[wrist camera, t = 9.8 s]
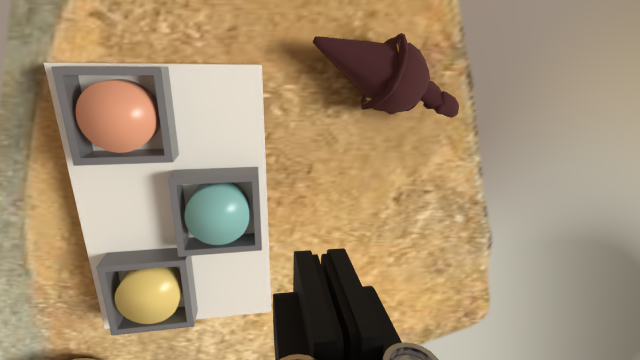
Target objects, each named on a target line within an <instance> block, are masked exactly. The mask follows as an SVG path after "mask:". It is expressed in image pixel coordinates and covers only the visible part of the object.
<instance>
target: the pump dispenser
mask: <svg viewBox="0 0 640 360" xmlns="http://www.w3.org/2000/svg"><path fill="white" fill-rule="evenodd" d="M72 360H96V359H91V358H79V359H72Z"/></svg>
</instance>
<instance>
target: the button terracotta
mask: <svg viewBox="0 0 640 360" xmlns="http://www.w3.org/2000/svg"><path fill="white" fill-rule="evenodd" d="M76 119H77V123H78V125H79V127H80V129H81V131H82V133H83V134H84V135H85V136H86V137H87V139H88V140H90V141H91V142H92V143H93V144H95V145H96V146H98V147H100V148H102V149H104V150H107V151H111V152H117V153H124V152H130V151H133V150H136V149H138V148H140V147H141V146H143V145H144V144H145V143H146V142H148V141H149V140H150V139H151V138H153V137H154V136H155V134H156V133H157V131H158V130H159V127H160V118H159V110H158V103H157V100H156V98H155V97H154V96H153V94H152V93H151V92H150V91H149V90H148V89H147V88H145V87H144V86H142V85H141V84H139V83H137V82H134V81H131V80H126V79H114V80H108V81H102V82H98V83H95V84H93V85H91V86H89V87H88V88H86V89H85V90H84V91H83V92H82V94H81V95H80V97H79V99H78V101H77V104H76Z"/></svg>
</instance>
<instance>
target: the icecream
mask: <svg viewBox="0 0 640 360" xmlns="http://www.w3.org/2000/svg"><path fill="white" fill-rule="evenodd" d="M313 43H314V44H315V46H316V47H317V48H318V49H319V50H320V51H321V52H322V53H323V54H324V55H325V56H326V57H327V58H328V59H329V60H330V61H331V62H332V63H333V64H334V65H335V66H336V67H337V68H338V69H339V70H340V71H341V72H342V73H343V74H344V75H345V76H346V77H347V78H348V79H349V80H350V81H351V82H352V83H353V84H354V85H355V86H356V87H357V88H358V90H359V91H360V92H361V93H362V98H361V108H362V109H369V108H374V109H375V110H379V111H386V112H387V113H389V114H394V113H396V112H403V111H409V110H411V109H412V108H414V107H415V106H416V105H417V103H418V102H419V101H420V100H421V101H423V102H424V104H423V106H425V107H426V108H427V109H434V110H435V111H436V113H438V114H443V115H445V116H447V117H451V118H452V117H454V116H456V115H457V114H458V110H459V104H458V102H457V100H456V98H455V97H453V96H452V95H450V94H449V93H447V92H444V91H443V92H441V90H440V88H439V87H438V86H437V85H436V84H435V83H434V82H432V81H429V80H430V75H429V70H428V67H427V64H426V61H425V59H424V57H423V55H422V54H421V52H420V50H419V49H417V48H416V47H415V46H414V45H412V44H411V43H407V40H406V37H405V34H404V35H403V33H401V34H399V35H397V36H396V37H394V38H391V39H389V40H387V41H386V42H384V43H377V42H367V41H357V40H346V39H337V38H328V37H315V38H314V40H313Z"/></svg>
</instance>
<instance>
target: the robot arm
mask: <svg viewBox="0 0 640 360" xmlns="http://www.w3.org/2000/svg"><path fill="white" fill-rule="evenodd" d="M273 326H274V345H275V360H438V358H436V356H435V355H434V354H433V353H432V352H431V351H429V350H427V349H425V348H424V347H422V346H419V345H417V344H413V343H406V342H405V343H402V342H401V340H400V338H399V336H398V334H397V332H396V330H395V328H394V326H393V324H392V322H391V320H390V318H389V316H388V314H387V312H386V311H385V309H384V307H383V305H382V303H381V301H380V299H379V297H378V295H377V293H376V291H375V289H374V288H373V287H372V286H364V287H362V285H361V283H360V280H359V278H358V276H357V274H356V272H355V270H354V268H353V265H352V263H351V261H350V259H349V257H348V255H347V253H346V250H345V249H344V248H343V249H328V250H327V254H322V256H321V264H320V261H319V257H318V255H317V254H316V255H312V252H311V251H294V281H293V292H289V293H276V294H273Z"/></svg>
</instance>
